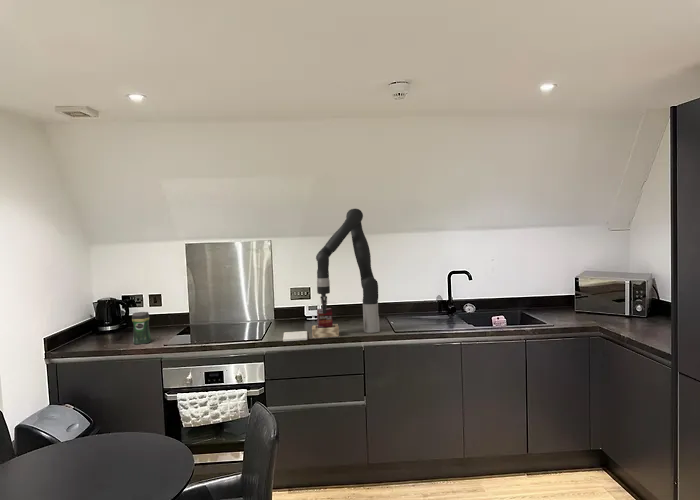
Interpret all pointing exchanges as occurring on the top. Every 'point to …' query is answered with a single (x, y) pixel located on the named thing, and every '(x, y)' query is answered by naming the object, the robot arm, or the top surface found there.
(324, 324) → the supplement box
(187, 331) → the top surface
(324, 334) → the birch caddy
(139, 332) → the coffee jar
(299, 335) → the white flat slab
